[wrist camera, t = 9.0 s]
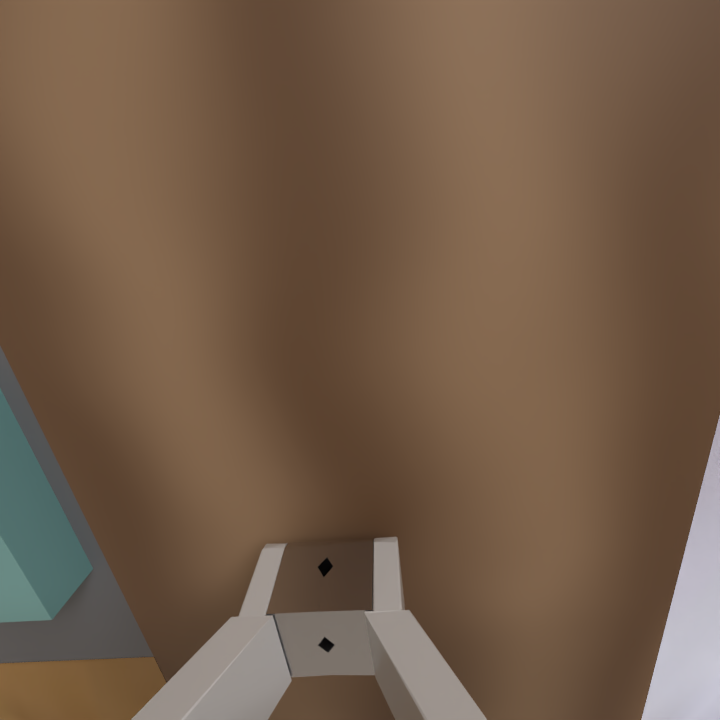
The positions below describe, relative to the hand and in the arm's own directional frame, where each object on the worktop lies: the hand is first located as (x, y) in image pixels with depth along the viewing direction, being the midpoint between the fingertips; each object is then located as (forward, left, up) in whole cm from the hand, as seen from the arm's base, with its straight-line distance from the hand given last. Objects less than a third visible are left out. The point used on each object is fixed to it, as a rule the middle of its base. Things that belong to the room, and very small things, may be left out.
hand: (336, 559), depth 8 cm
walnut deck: (-1, 0, -5) cm, 5 cm away
